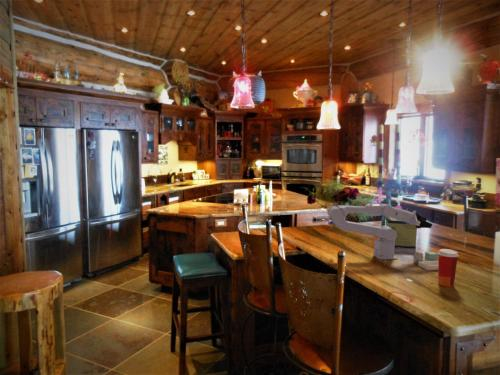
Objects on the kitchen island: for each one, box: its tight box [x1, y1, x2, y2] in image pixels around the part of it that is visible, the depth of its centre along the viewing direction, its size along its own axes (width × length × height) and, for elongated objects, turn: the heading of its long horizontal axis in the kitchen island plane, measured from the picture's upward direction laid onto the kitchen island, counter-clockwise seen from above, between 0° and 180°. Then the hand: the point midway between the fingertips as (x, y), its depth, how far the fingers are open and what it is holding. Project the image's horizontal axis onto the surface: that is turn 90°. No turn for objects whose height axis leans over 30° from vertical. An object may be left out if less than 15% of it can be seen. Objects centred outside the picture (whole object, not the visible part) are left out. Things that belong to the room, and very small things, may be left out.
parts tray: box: [417, 260, 438, 271], centre depth 179 cm, size 12×7×2 cm, turn 99°
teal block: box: [424, 251, 438, 261], centre depth 186 cm, size 4×4×5 cm
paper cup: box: [437, 248, 460, 288], centre depth 157 cm, size 8×8×14 cm
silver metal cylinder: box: [412, 251, 424, 266], centre depth 185 cm, size 4×4×5 cm
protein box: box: [385, 217, 418, 250], centre depth 217 cm, size 10×16×16 cm
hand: (428, 223), depth 193 cm, fingers open, 7 cm apart
